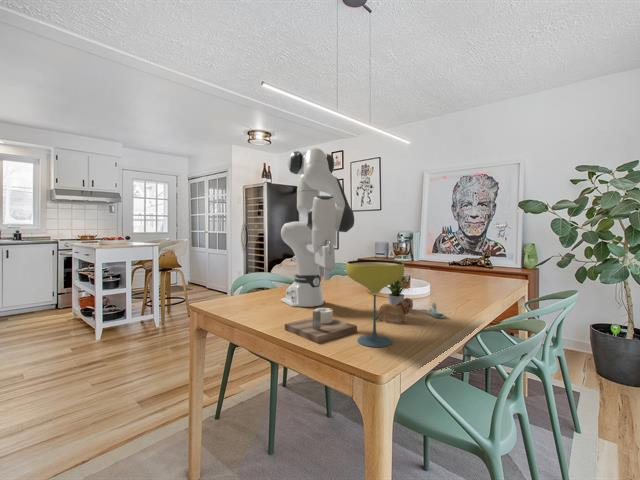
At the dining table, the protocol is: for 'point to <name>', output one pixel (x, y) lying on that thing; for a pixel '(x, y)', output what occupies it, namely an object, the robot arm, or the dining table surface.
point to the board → (320, 328)
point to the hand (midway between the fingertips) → (324, 278)
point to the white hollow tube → (326, 315)
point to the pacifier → (435, 311)
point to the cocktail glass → (375, 288)
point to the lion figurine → (396, 309)
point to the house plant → (397, 292)
